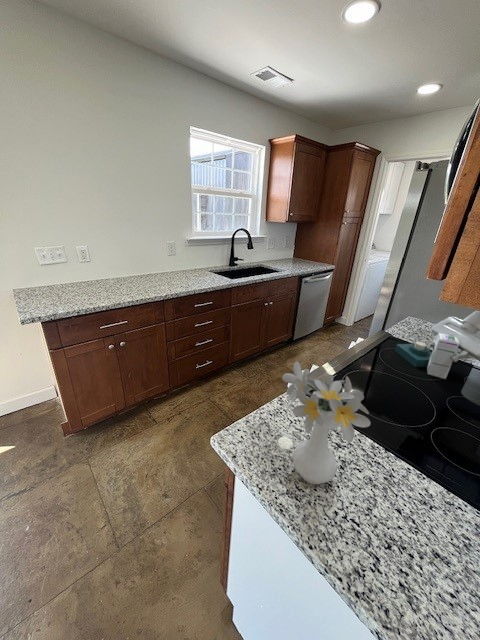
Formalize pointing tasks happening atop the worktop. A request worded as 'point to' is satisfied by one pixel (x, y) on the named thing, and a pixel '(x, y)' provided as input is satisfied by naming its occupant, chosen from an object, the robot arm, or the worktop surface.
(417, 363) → the cap block
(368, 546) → the worktop surface
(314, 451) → the flower vase
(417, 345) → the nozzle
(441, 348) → the syrup box
